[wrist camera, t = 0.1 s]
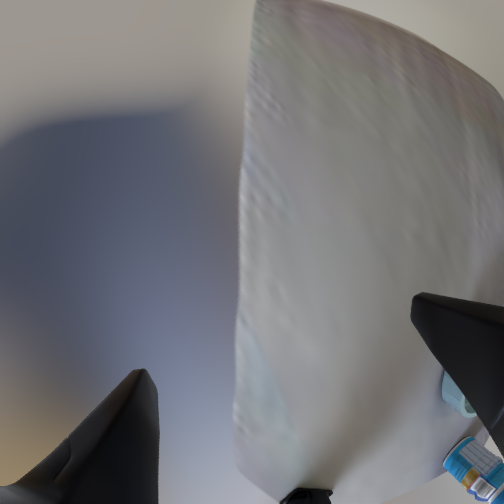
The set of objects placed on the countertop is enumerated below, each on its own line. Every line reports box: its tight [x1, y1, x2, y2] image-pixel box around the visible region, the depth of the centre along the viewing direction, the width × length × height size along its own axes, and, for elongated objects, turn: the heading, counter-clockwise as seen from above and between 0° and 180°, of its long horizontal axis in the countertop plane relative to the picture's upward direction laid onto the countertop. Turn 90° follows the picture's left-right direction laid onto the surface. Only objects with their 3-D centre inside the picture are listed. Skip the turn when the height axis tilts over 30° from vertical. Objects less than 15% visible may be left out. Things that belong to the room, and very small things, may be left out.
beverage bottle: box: [443, 436, 504, 504], centre depth 19 cm, size 8×8×20 cm
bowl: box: [442, 370, 477, 418], centre depth 24 cm, size 15×15×5 cm
